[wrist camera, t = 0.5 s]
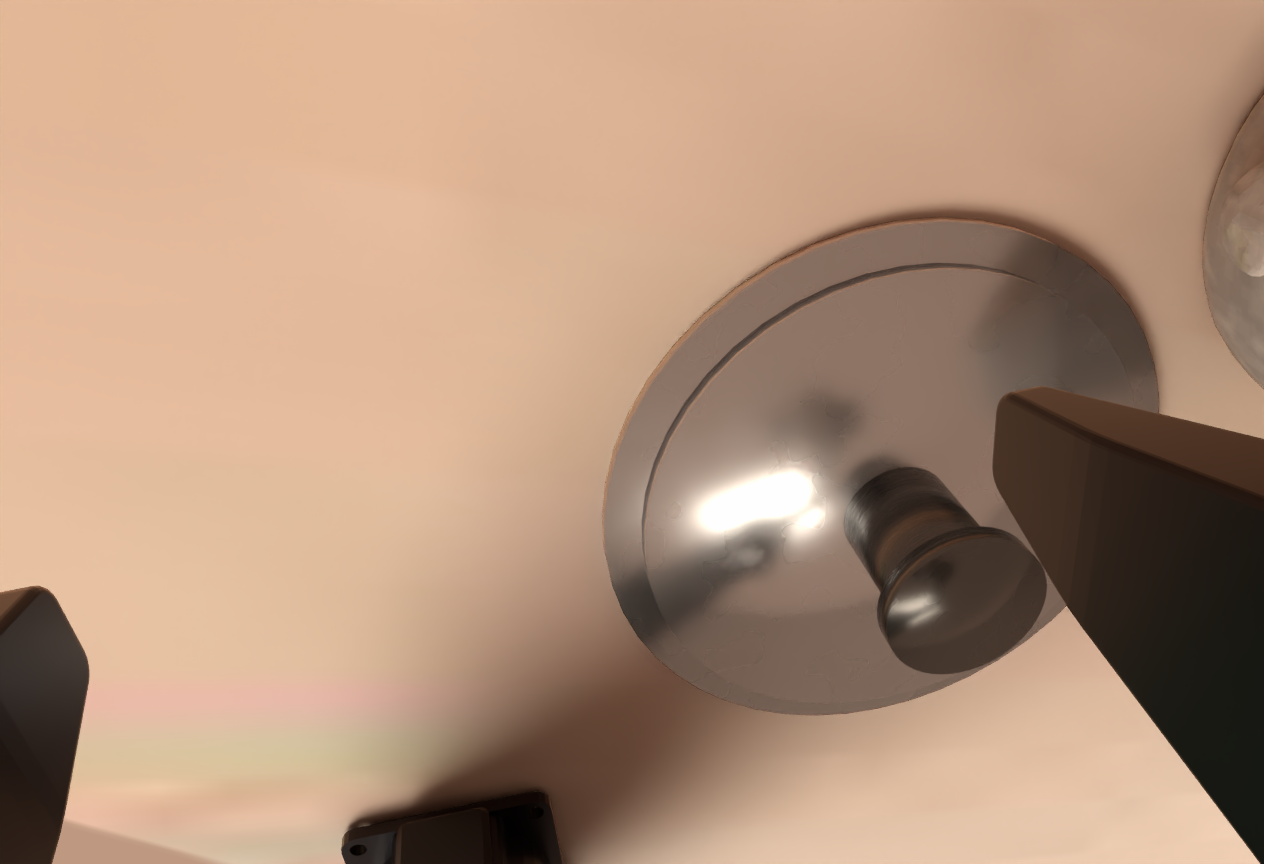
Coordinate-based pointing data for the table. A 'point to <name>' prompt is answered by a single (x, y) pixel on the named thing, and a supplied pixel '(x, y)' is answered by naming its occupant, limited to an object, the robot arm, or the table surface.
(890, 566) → the lid
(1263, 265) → the dish
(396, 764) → the table surface
